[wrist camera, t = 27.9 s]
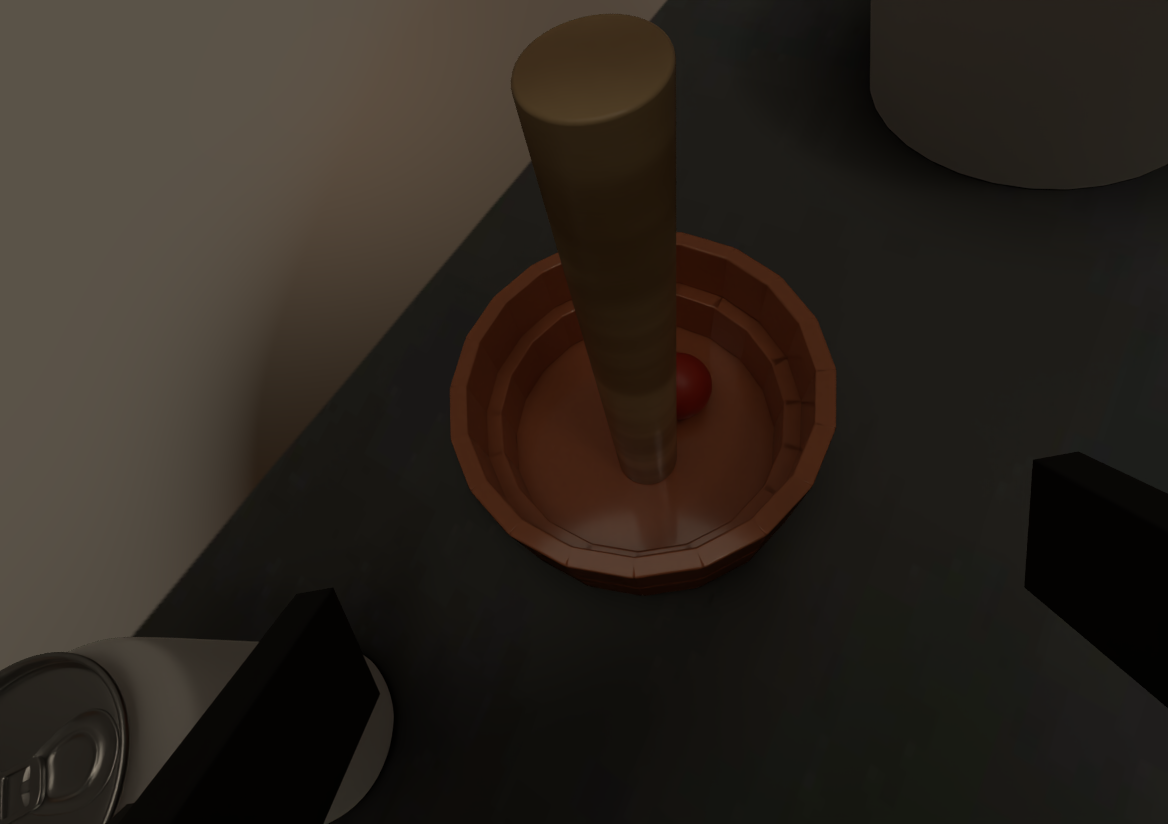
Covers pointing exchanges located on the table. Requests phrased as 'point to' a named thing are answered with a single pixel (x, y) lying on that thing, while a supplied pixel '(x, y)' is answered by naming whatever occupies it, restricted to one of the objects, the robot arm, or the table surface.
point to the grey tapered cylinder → (1026, 87)
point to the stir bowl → (704, 441)
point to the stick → (613, 212)
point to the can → (128, 725)
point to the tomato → (691, 385)
